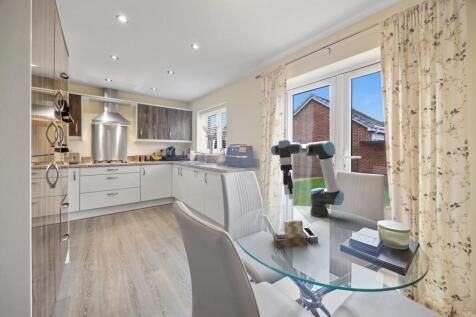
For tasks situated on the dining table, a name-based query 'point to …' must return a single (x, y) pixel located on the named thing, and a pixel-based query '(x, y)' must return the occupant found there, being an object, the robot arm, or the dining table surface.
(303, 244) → the rack
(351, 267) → the dining table surface
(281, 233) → the offcut upper
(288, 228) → the beige flat slab
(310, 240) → the stand
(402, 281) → the dining table surface
